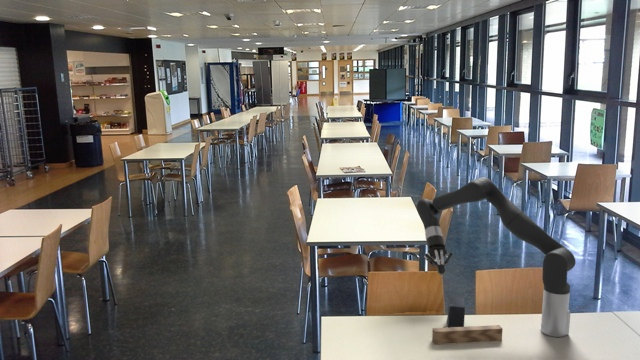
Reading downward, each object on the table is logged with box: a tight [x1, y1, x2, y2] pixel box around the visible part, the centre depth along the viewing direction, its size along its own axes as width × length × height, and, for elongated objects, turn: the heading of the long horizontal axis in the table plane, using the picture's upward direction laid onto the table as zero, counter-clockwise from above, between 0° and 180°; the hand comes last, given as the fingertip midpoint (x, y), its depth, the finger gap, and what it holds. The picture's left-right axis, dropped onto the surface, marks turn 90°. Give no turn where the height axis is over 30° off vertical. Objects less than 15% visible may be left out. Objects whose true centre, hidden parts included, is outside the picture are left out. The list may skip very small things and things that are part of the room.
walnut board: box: [431, 324, 503, 345], centre depth 206 cm, size 26×3×5 cm, turn 95°
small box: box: [446, 295, 466, 328], centre depth 219 cm, size 11×6×10 cm, turn 168°
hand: (442, 273), depth 236 cm, fingers closed
